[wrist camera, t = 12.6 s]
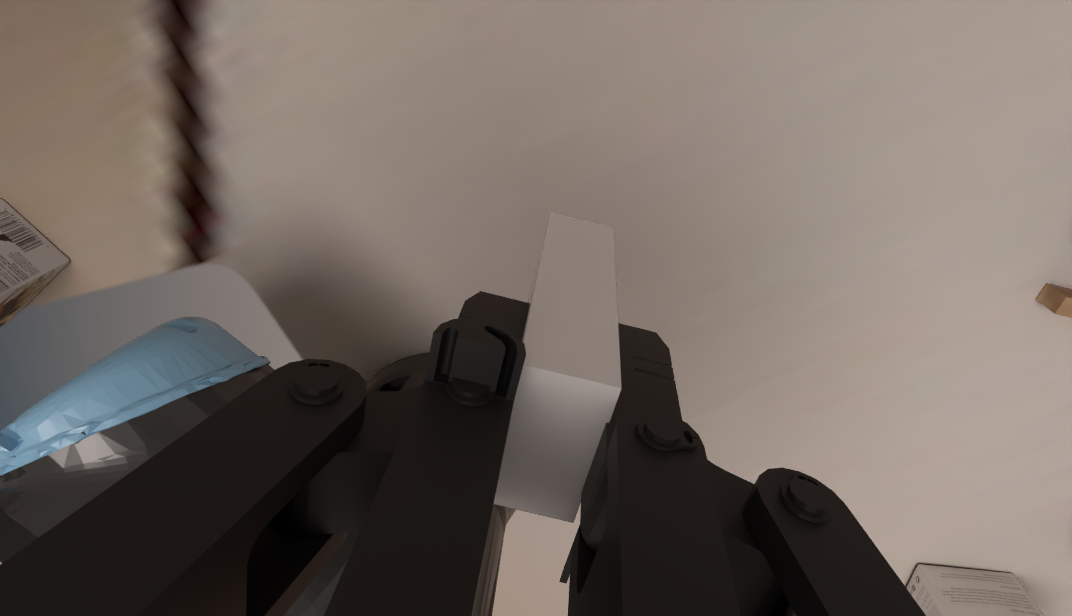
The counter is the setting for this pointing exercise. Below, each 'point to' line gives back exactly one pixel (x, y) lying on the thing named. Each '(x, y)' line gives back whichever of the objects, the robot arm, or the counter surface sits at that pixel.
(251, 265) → the counter surface
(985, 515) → the counter surface
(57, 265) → the coffee box
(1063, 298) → the frame
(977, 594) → the skincare box
